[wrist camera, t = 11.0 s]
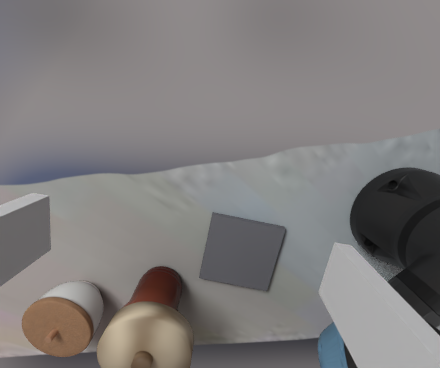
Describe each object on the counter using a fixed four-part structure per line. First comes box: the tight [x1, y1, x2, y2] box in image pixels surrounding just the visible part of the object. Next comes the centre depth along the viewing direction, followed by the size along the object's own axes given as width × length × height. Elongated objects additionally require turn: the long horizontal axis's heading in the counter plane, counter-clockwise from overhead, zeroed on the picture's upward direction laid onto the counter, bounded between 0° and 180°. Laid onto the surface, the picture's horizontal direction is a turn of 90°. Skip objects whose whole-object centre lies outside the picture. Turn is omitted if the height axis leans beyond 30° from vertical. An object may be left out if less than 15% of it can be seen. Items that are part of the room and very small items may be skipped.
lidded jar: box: [22, 281, 104, 357], centre depth 40 cm, size 11×11×9 cm
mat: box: [199, 213, 286, 291], centre depth 40 cm, size 12×12×1 cm
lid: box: [97, 301, 194, 368], centre depth 31 cm, size 12×12×4 cm
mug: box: [121, 266, 182, 311], centre depth 38 cm, size 12×9×10 cm
